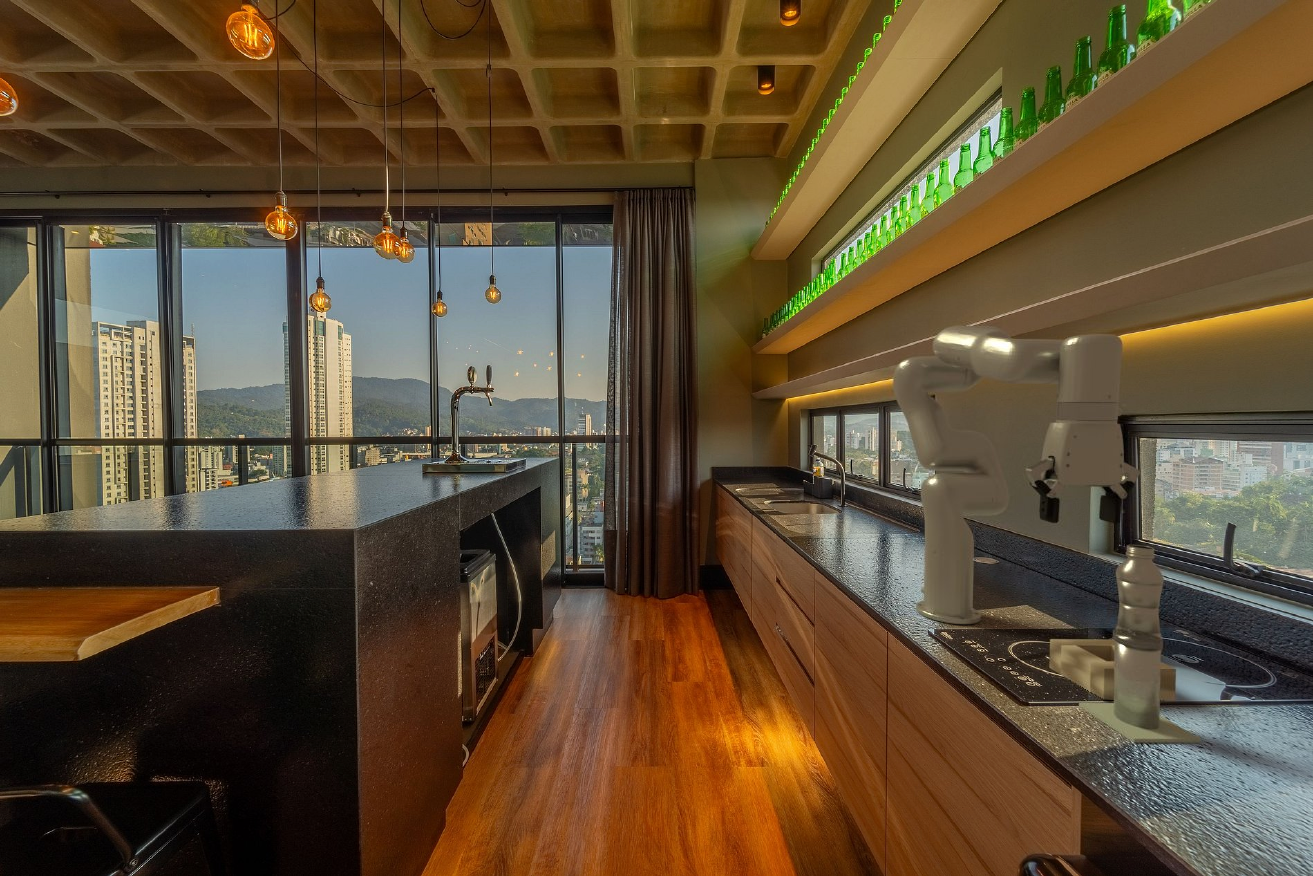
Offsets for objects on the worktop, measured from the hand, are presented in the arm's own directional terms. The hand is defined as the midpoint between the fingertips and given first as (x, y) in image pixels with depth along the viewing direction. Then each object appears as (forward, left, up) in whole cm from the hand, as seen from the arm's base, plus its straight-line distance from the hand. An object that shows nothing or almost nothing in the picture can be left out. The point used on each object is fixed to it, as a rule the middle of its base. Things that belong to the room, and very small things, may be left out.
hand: (1079, 521), depth 83 cm
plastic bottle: (-12, +22, -27) cm, 37 cm away
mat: (+10, +1, -27) cm, 29 cm away
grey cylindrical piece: (+10, +1, -26) cm, 28 cm away
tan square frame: (-1, +7, -27) cm, 28 cm away
